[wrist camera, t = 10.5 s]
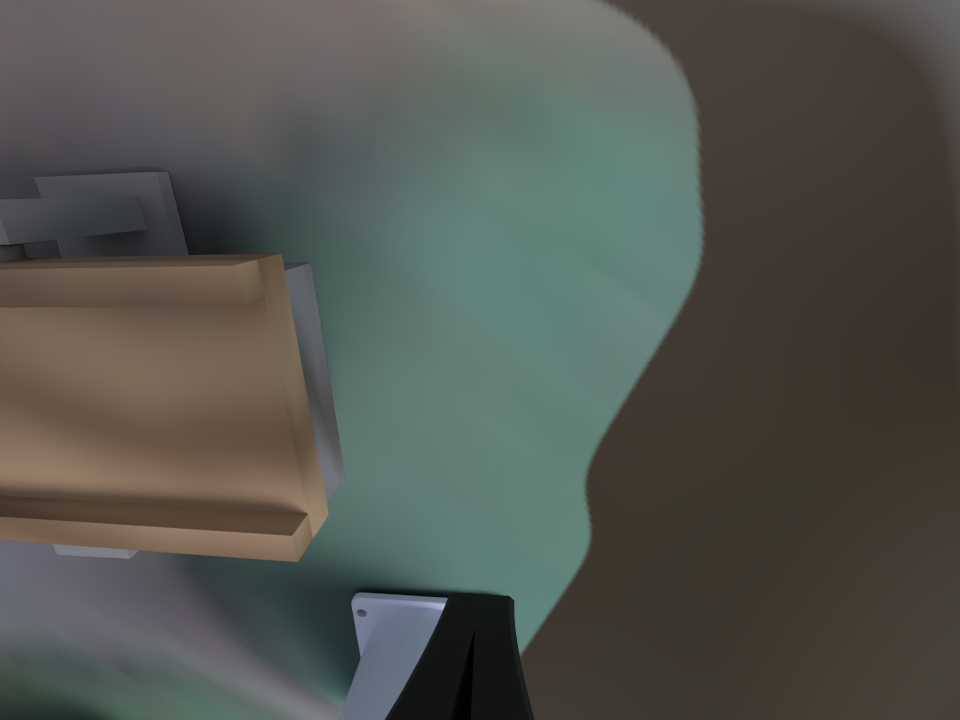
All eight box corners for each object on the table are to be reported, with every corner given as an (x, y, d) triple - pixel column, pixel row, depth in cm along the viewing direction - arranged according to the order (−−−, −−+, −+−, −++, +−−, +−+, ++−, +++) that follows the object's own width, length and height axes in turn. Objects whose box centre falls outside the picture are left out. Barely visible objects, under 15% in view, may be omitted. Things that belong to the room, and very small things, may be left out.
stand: (247, 486, 22) (161, 577, 17) (152, 483, 23) (40, 569, 18) (168, 172, 17) (13, 166, 12) (49, 177, 18) (-146, 173, 13)
